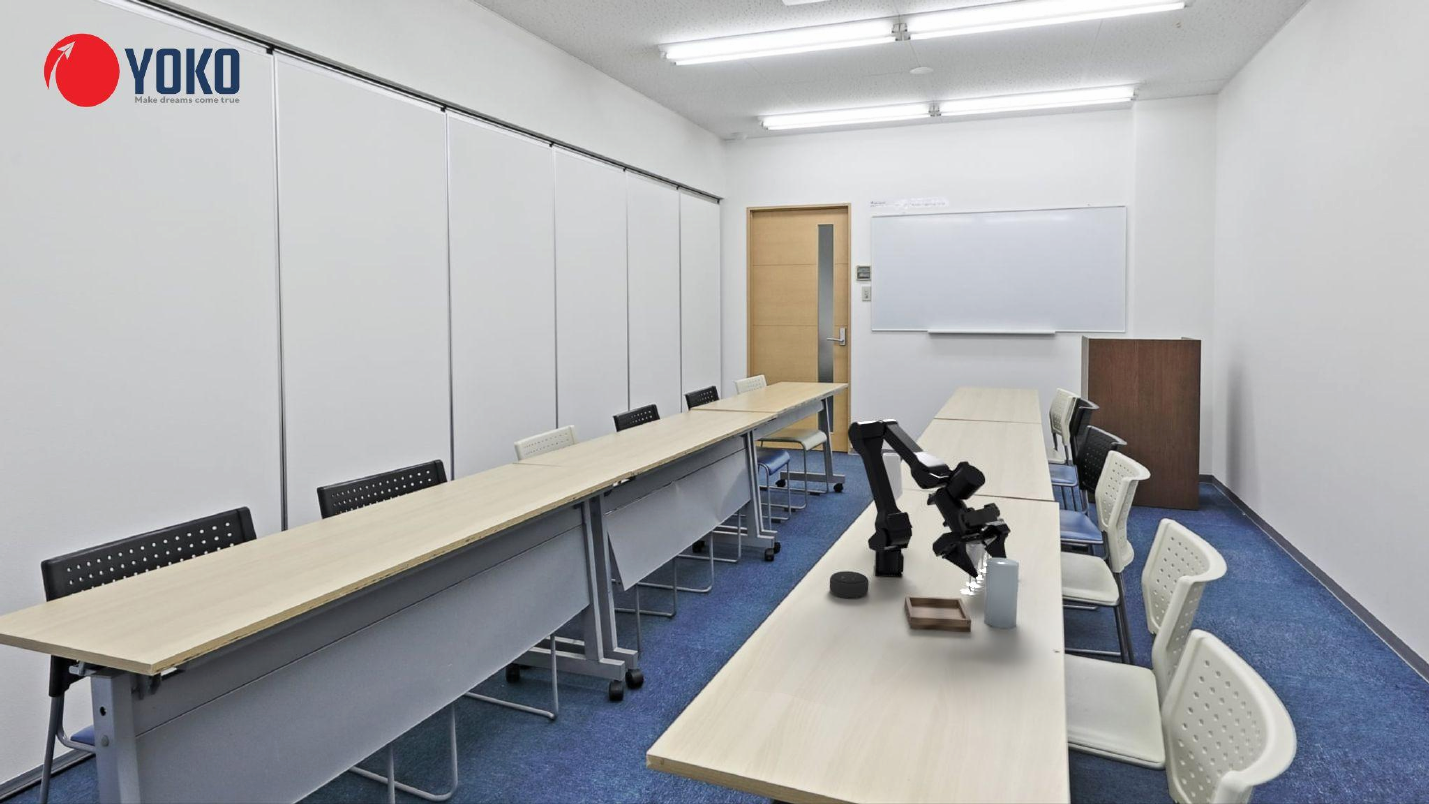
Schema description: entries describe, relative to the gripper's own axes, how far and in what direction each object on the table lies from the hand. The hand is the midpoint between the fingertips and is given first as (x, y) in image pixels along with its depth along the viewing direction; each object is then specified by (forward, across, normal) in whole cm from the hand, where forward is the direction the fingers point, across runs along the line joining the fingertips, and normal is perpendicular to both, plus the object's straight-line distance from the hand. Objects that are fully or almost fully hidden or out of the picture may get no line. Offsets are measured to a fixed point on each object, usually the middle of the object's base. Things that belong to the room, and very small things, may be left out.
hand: (992, 573), depth 164 cm
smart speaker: (-12, -17, +26) cm, 33 cm away
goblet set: (-6, +18, +20) cm, 28 cm away
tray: (+3, -10, +11) cm, 15 cm away
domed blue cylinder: (+9, 0, +5) cm, 10 cm away
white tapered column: (-33, +22, +46) cm, 61 cm away
